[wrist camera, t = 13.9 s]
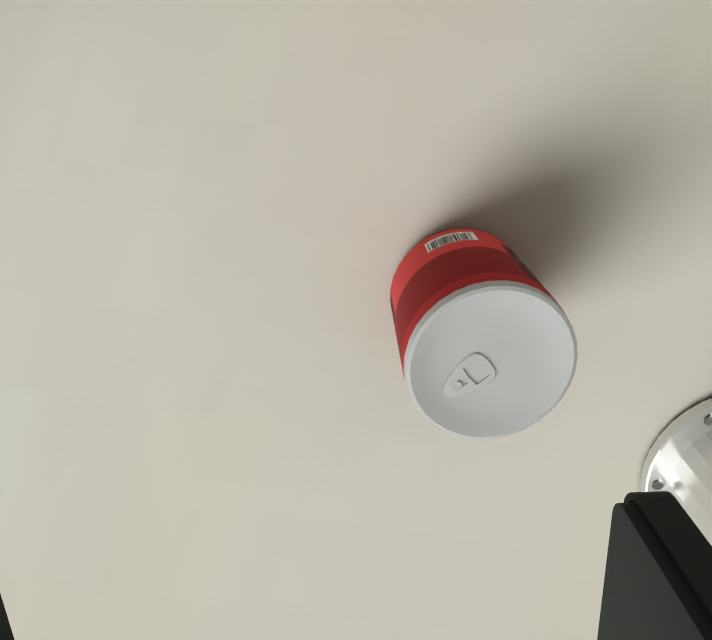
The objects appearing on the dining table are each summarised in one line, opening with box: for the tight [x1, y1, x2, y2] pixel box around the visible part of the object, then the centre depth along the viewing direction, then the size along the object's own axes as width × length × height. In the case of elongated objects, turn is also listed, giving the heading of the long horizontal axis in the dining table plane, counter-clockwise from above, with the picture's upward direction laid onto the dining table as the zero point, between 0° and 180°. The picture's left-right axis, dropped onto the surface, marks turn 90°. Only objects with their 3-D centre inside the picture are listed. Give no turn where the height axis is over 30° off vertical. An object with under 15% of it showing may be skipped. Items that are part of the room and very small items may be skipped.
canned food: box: [390, 228, 577, 439], centre depth 35 cm, size 8×8×11 cm
